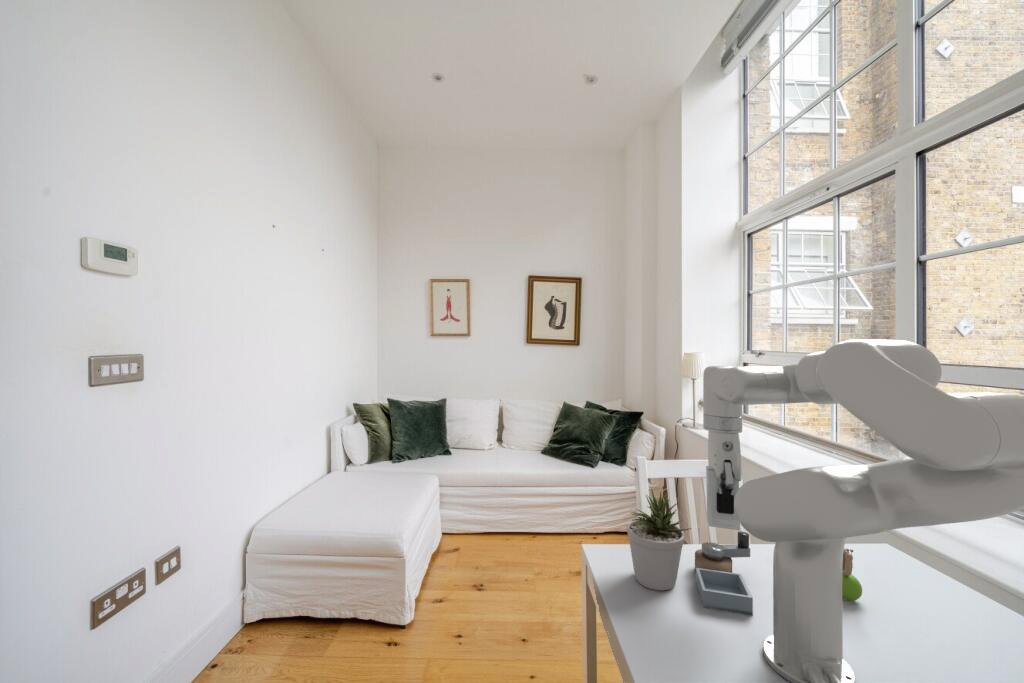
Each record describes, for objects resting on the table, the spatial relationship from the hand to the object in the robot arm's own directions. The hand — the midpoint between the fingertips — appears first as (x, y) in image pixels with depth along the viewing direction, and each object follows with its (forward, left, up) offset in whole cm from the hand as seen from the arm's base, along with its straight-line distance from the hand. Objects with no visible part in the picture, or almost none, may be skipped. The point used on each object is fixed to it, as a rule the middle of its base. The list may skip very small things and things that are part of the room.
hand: (722, 507), depth 89 cm
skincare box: (0, 0, -4) cm, 4 cm away
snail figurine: (+7, -25, -20) cm, 33 cm away
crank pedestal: (+10, 0, -19) cm, 22 cm away
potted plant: (+3, +13, -20) cm, 24 cm away
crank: (+11, -3, -15) cm, 19 cm away
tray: (0, 0, -19) cm, 19 cm away
